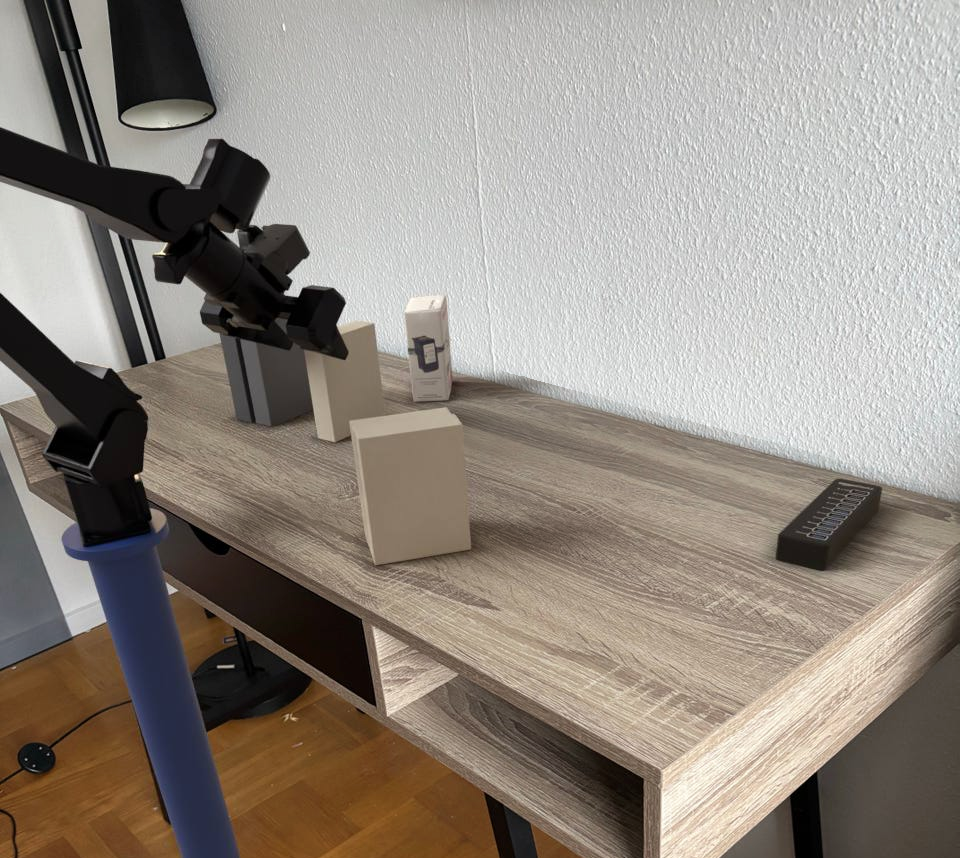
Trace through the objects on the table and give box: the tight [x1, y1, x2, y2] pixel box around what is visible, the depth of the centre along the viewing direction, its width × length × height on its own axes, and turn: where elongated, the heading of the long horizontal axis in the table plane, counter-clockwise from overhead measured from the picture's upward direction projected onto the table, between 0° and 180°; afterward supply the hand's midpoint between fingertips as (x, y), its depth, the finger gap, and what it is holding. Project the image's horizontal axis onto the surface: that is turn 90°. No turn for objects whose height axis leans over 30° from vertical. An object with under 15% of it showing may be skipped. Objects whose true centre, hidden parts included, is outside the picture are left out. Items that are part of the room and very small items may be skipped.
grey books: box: [218, 318, 314, 427], centre depth 121 cm, size 10×6×13 cm
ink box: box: [403, 294, 454, 403], centre depth 125 cm, size 8×5×12 cm, turn 178°
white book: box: [304, 320, 386, 443], centre depth 114 cm, size 9×3×12 cm, turn 142°
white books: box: [349, 406, 472, 566], centre depth 86 cm, size 9×6×12 cm
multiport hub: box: [775, 478, 883, 571], centre depth 85 cm, size 4×14×2 cm, turn 143°
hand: (318, 351), depth 109 cm, fingers open, 9 cm apart
